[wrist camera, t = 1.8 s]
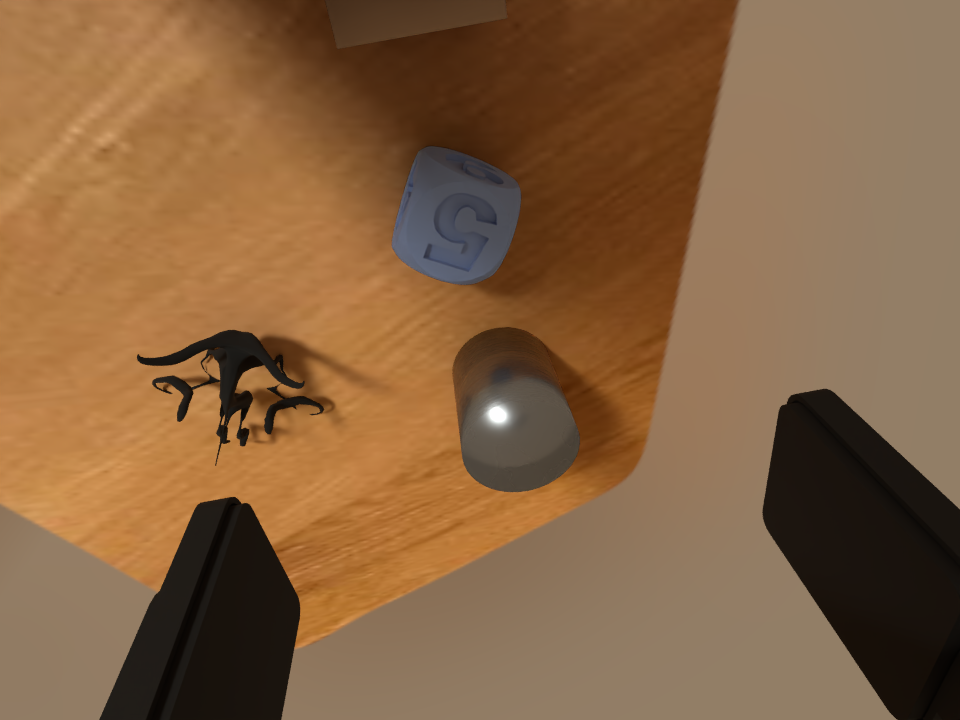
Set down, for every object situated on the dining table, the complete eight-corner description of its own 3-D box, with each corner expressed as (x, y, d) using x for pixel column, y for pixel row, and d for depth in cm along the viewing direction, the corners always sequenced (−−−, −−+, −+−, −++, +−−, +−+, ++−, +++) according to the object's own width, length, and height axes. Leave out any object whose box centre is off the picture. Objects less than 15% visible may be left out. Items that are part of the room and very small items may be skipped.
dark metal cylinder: (444, 337, 28) (452, 413, 23) (545, 318, 28) (576, 390, 23) (461, 417, 31) (472, 501, 26) (553, 400, 31) (582, 480, 26)
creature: (321, 426, 31) (340, 320, 26) (304, 515, 28) (322, 411, 22) (165, 404, 30) (151, 284, 24) (124, 495, 26) (96, 376, 20)
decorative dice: (391, 229, 25) (389, 266, 21) (420, 136, 23) (422, 162, 20) (478, 256, 26) (489, 296, 23) (512, 170, 24) (529, 200, 21)
